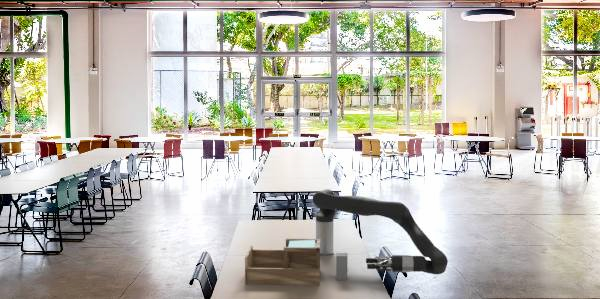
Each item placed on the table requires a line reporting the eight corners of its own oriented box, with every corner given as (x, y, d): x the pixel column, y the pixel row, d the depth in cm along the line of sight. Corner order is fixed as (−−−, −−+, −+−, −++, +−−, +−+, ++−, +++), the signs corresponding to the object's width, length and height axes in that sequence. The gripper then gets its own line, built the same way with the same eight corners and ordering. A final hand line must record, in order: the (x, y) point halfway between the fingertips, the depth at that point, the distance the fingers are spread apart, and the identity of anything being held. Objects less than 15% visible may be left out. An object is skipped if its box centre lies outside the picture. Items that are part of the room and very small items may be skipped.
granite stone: (336, 276, 279) (336, 252, 277) (346, 276, 278) (347, 253, 277) (336, 279, 274) (336, 256, 272) (347, 279, 273) (347, 256, 272)
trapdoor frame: (250, 269, 288) (250, 236, 286) (320, 270, 286) (320, 237, 285) (245, 283, 268) (244, 248, 266) (319, 284, 267) (319, 249, 265)
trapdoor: (289, 242, 281) (289, 240, 281) (315, 242, 281) (315, 239, 281) (288, 249, 269) (287, 247, 269) (314, 249, 269) (314, 247, 269)
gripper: (400, 251, 280) (365, 251, 281) (404, 260, 266) (367, 260, 267) (400, 266, 281) (365, 266, 282) (404, 276, 267) (367, 276, 268)
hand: (366, 263), depth 275 cm, fingers open, 8 cm apart
